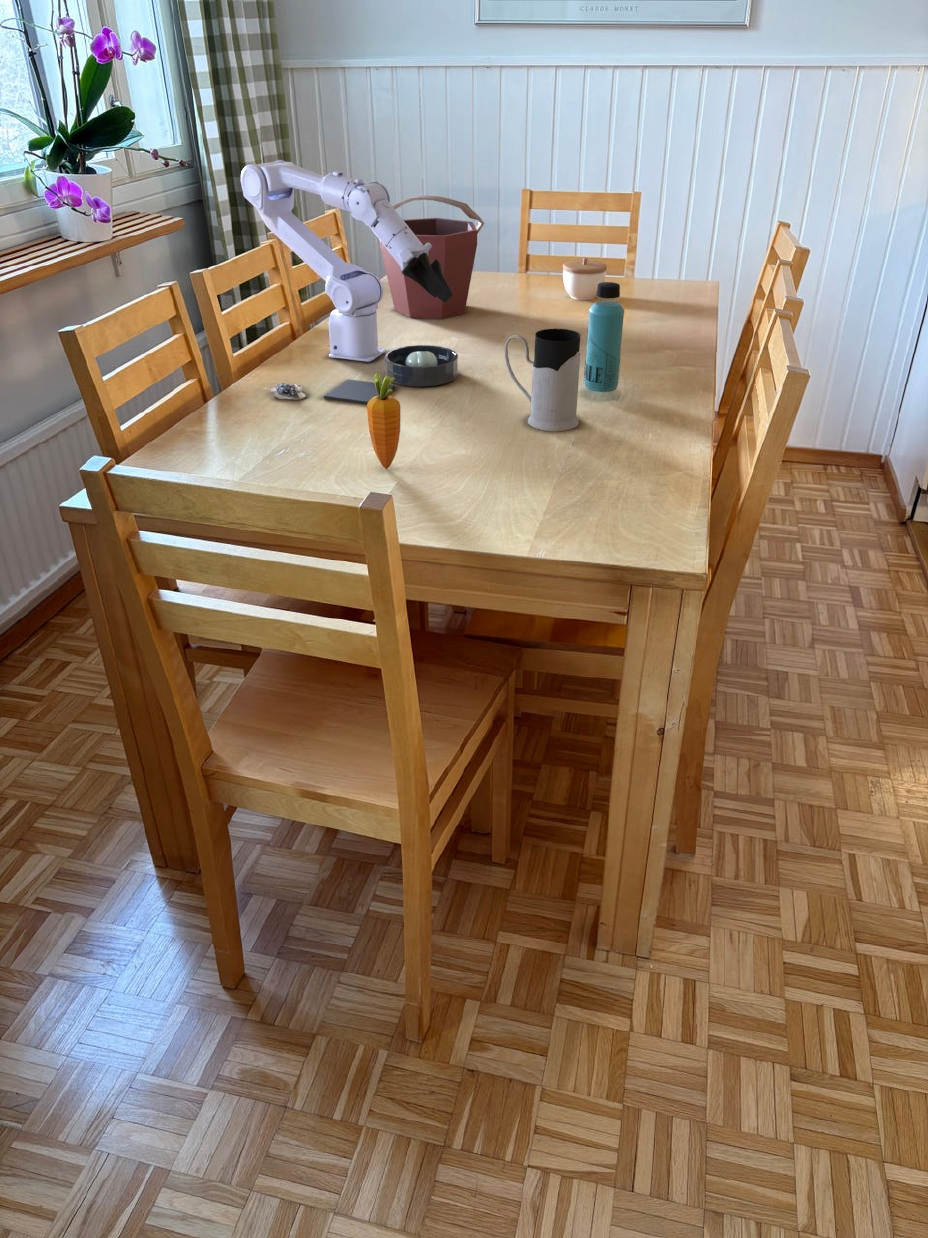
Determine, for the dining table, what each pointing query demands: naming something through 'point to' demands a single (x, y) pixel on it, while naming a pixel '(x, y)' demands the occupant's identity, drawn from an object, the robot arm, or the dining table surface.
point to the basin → (421, 375)
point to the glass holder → (552, 378)
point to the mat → (355, 391)
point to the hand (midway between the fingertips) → (443, 296)
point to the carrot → (384, 421)
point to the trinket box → (583, 278)
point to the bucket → (453, 252)
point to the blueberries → (288, 391)
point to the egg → (421, 359)
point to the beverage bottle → (604, 340)
